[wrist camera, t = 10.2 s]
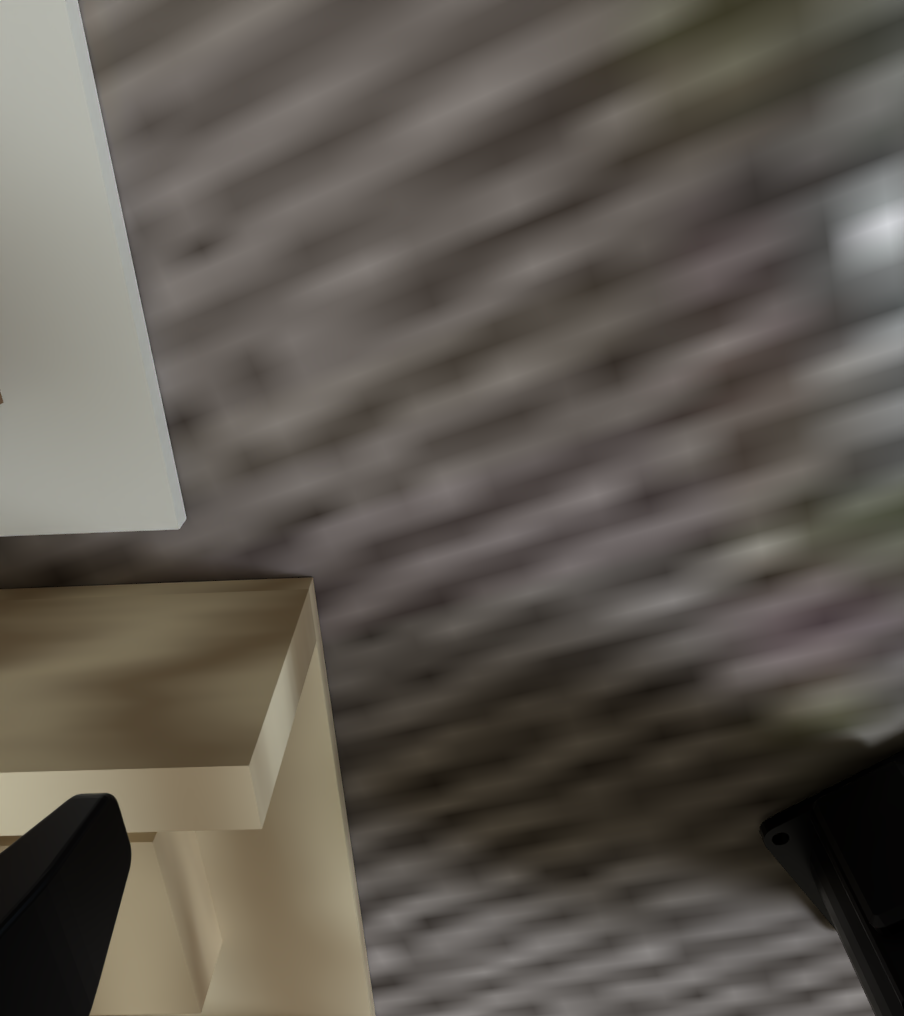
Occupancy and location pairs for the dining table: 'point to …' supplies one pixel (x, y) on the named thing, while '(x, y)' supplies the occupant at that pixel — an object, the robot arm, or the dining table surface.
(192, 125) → the dining table surface
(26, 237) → the grey mat
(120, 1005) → the slot box
